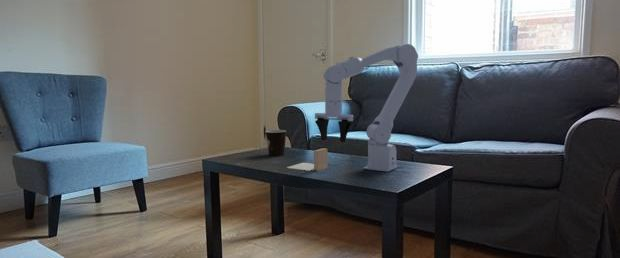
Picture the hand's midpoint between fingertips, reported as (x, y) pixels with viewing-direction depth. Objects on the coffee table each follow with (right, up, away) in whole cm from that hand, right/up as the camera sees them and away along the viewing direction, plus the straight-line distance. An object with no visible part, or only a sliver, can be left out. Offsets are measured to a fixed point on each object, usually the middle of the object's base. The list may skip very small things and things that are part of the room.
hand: (333, 140), depth 156 cm
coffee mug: (-22, -7, +33) cm, 40 cm away
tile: (-4, -10, +4) cm, 12 cm away
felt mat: (-10, -10, +8) cm, 16 cm away
